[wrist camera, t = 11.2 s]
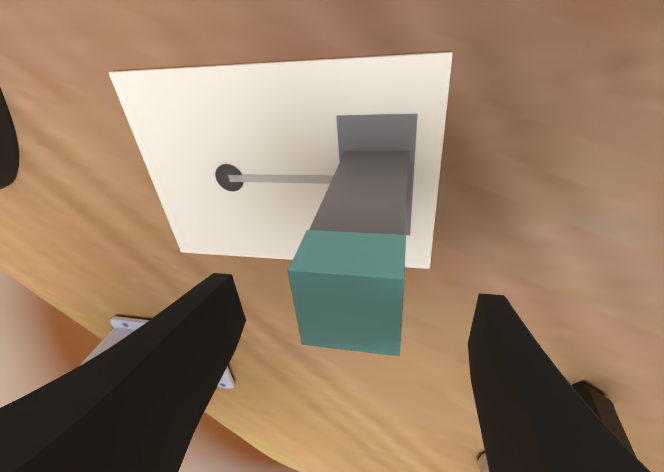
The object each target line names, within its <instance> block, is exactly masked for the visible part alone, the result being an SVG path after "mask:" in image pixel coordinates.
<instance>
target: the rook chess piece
mask: <svg viewBox="0 0 664 472" xmlns="http://www.w3.org/2000/svg"><path fill="white" fill-rule="evenodd" d="M477 465H478V468H480V469H481V470H482V471H481V472H489V468H488V463H487V458H486V453H483V454H482V455H481V457H480V458H479V460H478V462H477Z"/></svg>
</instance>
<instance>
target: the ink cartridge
mask: <svg viewBox="0 0 664 472" xmlns="http://www.w3.org/2000/svg"><path fill="white" fill-rule="evenodd" d="M571 386H572V387H573V388H574V390H575V391H576V392H577V393H578V394H579V395H580V397H581V398H582V399H583V400H584V401H585V402H586V404H587V405H588V406H589V407H590V408H591V409H592V411H593V412H594V413H595V414H596V415H597V416H598V417H599V418H600V420H601V421H602V422H603V423H604V424H605V425H606V426H607V427H608V428H609V429H610V431H611V432H612V433H613V434H614V435H615V436H616V437H617V438H618V439H619V440H620V441H621V442H622V443H623V444H624V445H625V446H626V447H627V449H628V450H629V451H630V452H631V453H632V454H633V455H634V456H635V453H634V451H633V449H632V447H631V444H630V442H629V440H628V438H627V436H626V433H625V431H624V429H623V427H622V424H621V422H620V420H619V418H618V416H617V413H616V411H615V409H614V405H613V403H612V402H611V400H609V399H608V398H606V397H605V396H603V395H602V394H600V393H598V392H597V391H595V390H594V389H592V388H591V387H589V386H588V385H586V384H584V383H576V384H573V385H571ZM635 457H636V456H635Z"/></svg>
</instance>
